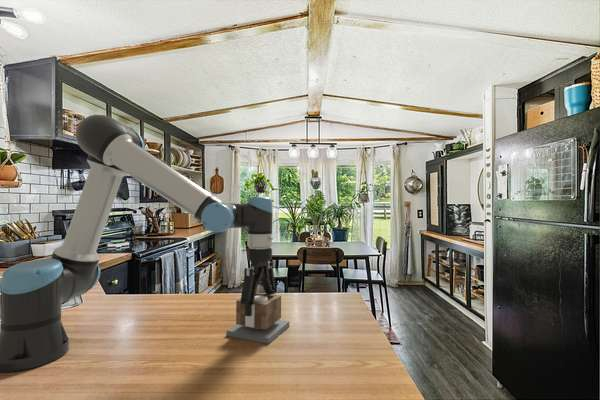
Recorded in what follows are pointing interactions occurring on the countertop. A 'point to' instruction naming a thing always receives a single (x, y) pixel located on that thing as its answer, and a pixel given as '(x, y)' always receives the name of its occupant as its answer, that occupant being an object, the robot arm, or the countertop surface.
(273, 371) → the countertop surface
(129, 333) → the countertop surface
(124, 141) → the robot arm
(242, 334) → the square plate with peg
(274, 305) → the collar
